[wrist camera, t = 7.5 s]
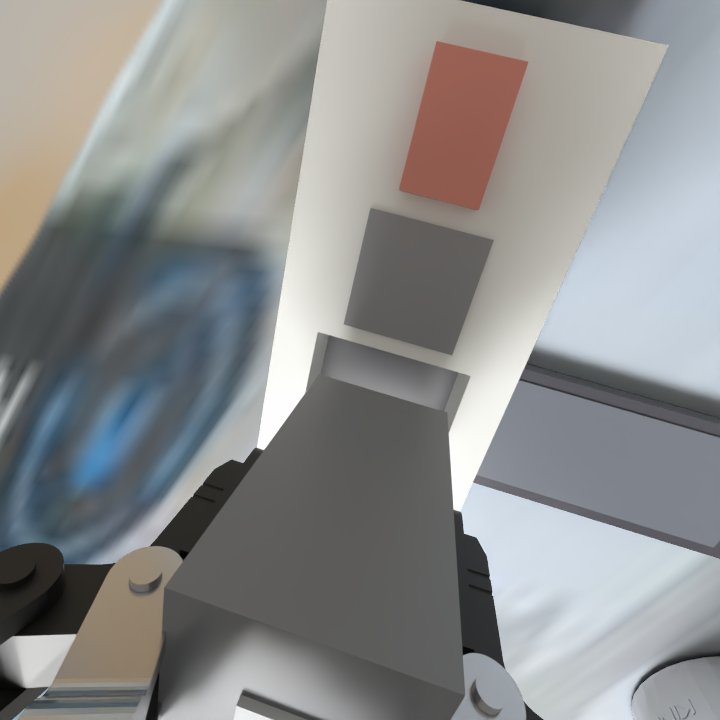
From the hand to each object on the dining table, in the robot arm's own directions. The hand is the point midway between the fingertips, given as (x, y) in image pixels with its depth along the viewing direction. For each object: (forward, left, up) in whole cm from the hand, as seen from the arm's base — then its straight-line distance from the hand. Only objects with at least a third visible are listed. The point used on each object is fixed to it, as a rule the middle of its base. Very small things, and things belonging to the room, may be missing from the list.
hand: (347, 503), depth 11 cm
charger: (0, 0, -3) cm, 3 cm away
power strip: (0, -4, -8) cm, 9 cm away
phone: (-11, 0, -8) cm, 13 cm away
